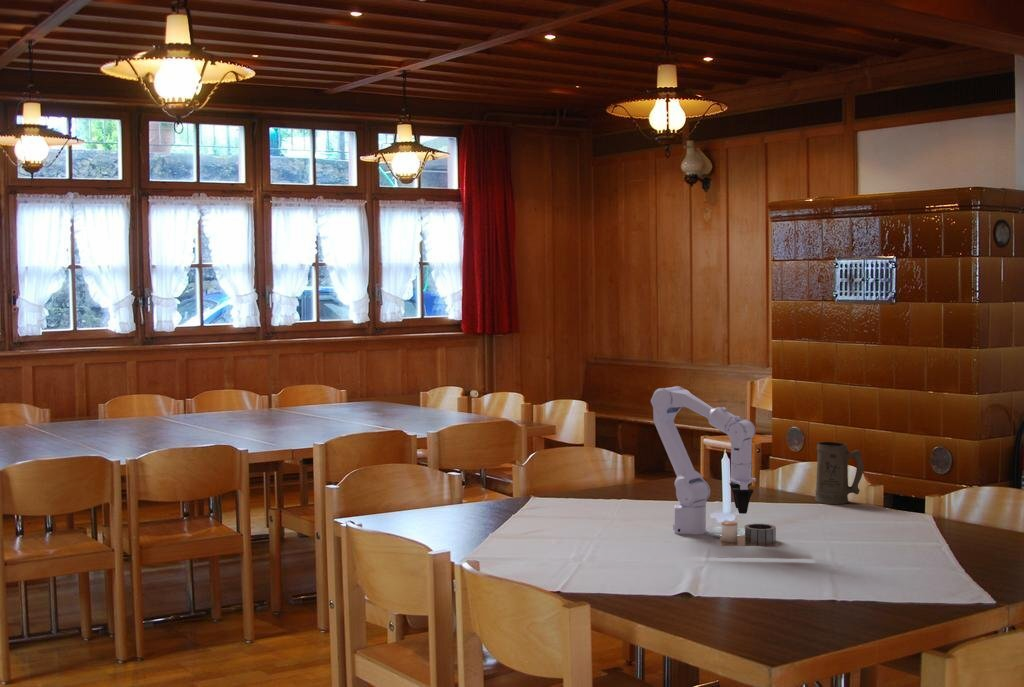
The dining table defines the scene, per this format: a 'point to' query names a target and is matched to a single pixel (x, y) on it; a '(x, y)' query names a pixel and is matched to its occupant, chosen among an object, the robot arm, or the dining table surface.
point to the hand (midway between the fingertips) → (741, 510)
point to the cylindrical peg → (729, 531)
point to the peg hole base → (755, 536)
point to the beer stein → (835, 473)
